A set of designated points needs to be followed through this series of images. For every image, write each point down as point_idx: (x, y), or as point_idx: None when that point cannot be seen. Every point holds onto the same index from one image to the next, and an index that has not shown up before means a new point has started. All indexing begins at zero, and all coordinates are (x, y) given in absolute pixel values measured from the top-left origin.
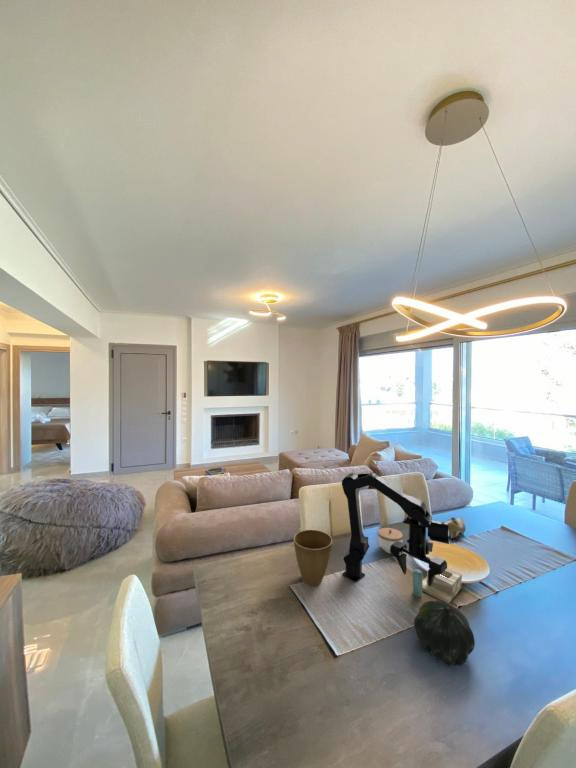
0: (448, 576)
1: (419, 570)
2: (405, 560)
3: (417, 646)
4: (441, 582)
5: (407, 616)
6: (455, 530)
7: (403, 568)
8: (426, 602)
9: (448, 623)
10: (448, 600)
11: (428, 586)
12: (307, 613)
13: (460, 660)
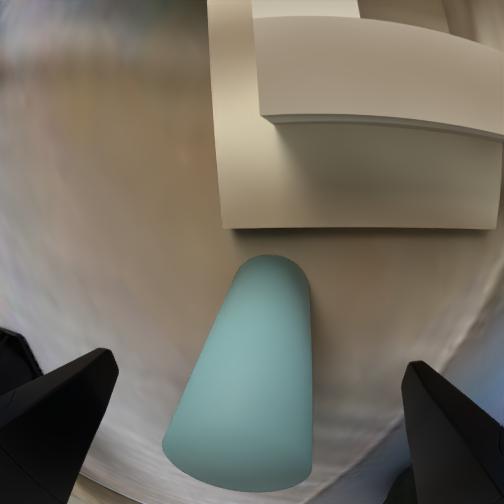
0: None
1: (234, 436)
2: (13, 442)
3: (384, 489)
4: (472, 132)
5: (315, 453)
6: None
7: (89, 440)
8: None
9: None
10: (494, 225)
11: (307, 153)
12: (133, 500)
13: None
